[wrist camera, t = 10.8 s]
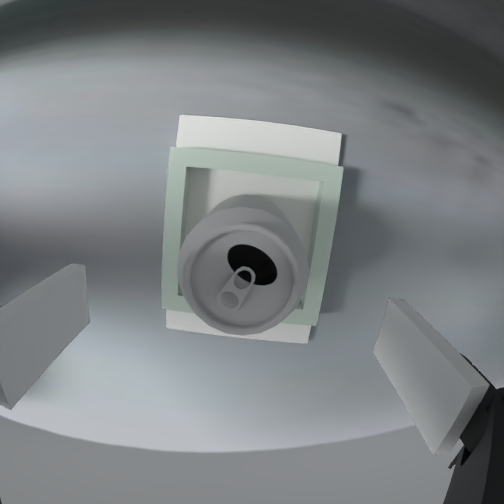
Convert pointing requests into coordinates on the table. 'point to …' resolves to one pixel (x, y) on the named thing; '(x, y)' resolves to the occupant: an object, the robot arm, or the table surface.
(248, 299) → the can
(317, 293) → the green and white tray
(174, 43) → the table surface
